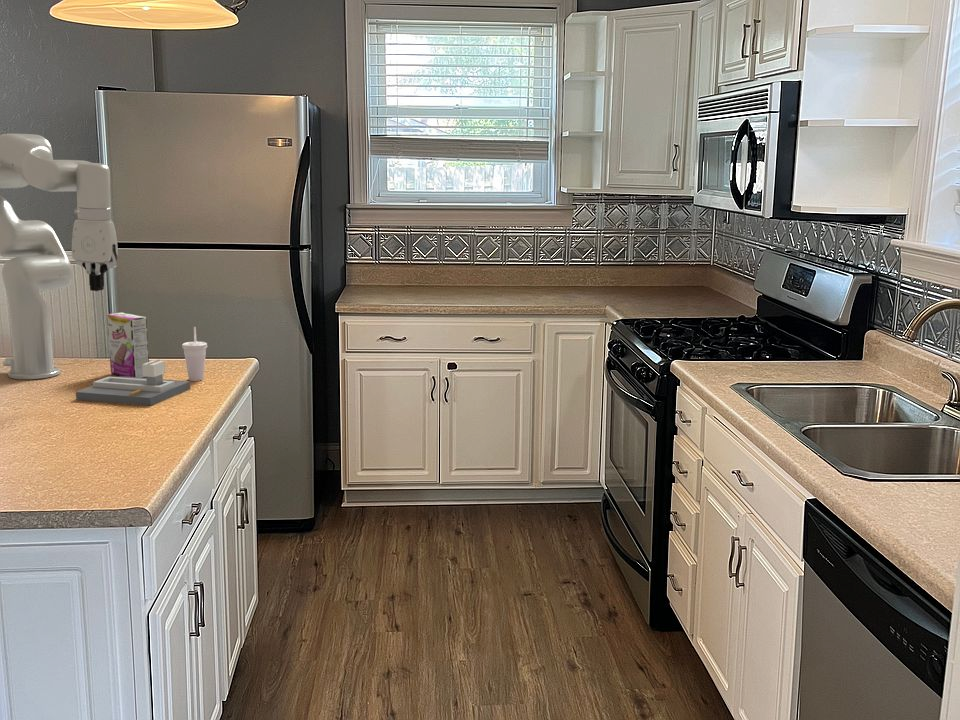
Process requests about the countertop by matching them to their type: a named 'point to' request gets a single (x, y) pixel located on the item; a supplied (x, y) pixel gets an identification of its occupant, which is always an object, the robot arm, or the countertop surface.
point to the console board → (131, 391)
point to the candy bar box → (127, 344)
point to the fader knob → (154, 372)
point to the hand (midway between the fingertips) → (96, 289)
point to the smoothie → (195, 358)
